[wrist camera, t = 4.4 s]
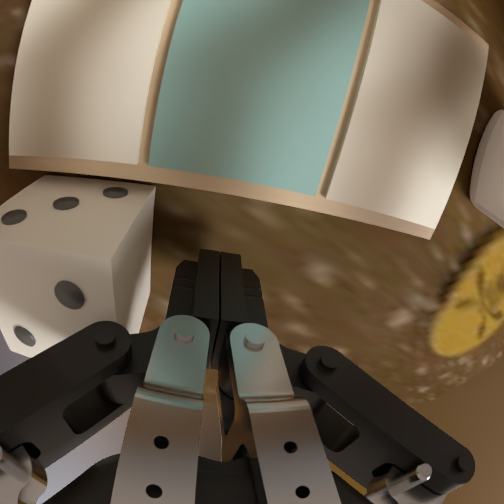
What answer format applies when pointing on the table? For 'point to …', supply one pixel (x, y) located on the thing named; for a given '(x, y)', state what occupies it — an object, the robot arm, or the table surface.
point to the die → (73, 259)
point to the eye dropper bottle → (490, 171)
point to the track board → (255, 100)
